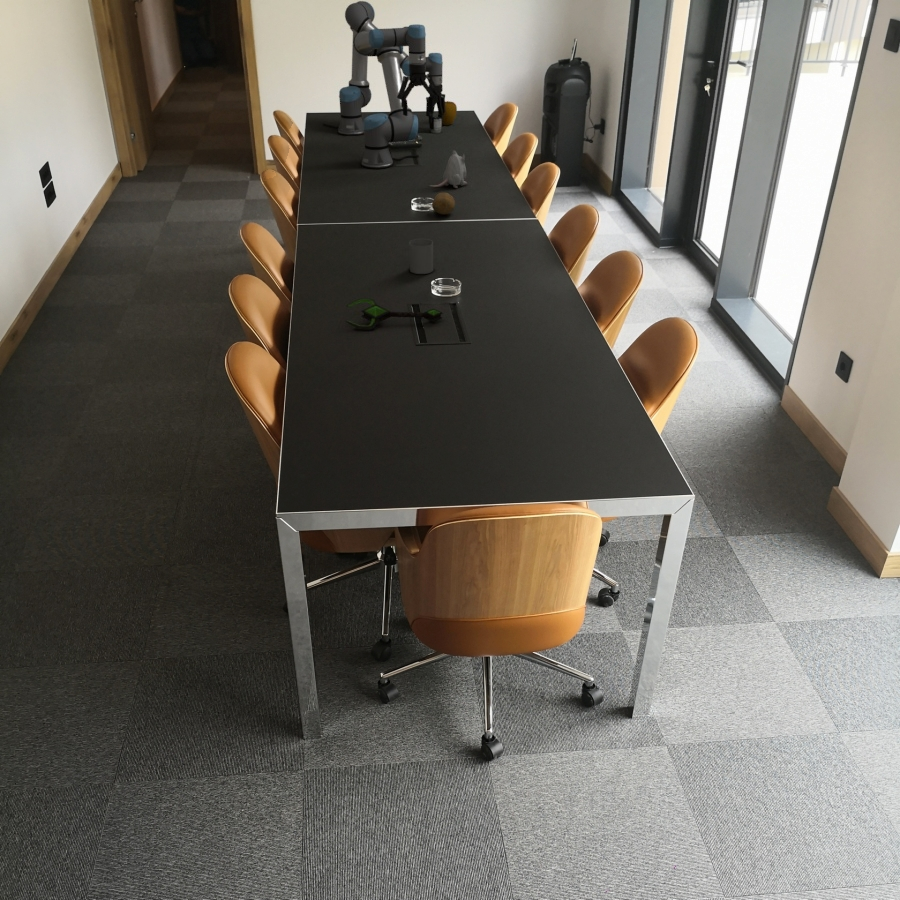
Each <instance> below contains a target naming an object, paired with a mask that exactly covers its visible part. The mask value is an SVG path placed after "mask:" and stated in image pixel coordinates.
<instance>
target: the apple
mask: <svg viewBox="0 0 900 900" xmlns="http://www.w3.org/2000/svg"><path fill="white" fill-rule="evenodd" d="M438 114H439V112H438V111H437V115H438ZM457 114H458V107H457V104H456V103H455V102H454V101H449V100H446V101H445V113H444V115H443V120H442V126H449V125H452V124H453V123H454V121H455V120H456V117H457Z"/></svg>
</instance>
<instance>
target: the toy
mask: <svg viewBox="0 0 900 900" xmlns="http://www.w3.org/2000/svg"><path fill="white" fill-rule="evenodd" d="M466 178H467V168H466V156H465V153H463V154H462V155H459V154H458V153H457V151H456V150H455V149H453V150H452V153H451V155H450V156H449V158H448V161H447V163H446V166H445V170H444V171H443V177H442V179H443V181H442V182H441V183H439V184H436V185H435V184H433V185H432V184H430V185H428V186H429V187H434V188H440V187H443V186H446V187H448V186H449V185H451V186H453V188H455V189H459V187H458V186H461V187H462V186H467V185H468V182H467V181H465V180H466Z"/></svg>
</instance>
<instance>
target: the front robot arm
mask: <svg viewBox="0 0 900 900" xmlns="http://www.w3.org/2000/svg"><path fill="white" fill-rule="evenodd" d="M426 36H427V34H426V27H425V25H424V24H419V23H418V24H409V25H408V26H402V27H392V28H378V29H372V30H365V31H362V32H359V33H357V34H356V35H355V37H354V39H353V38H352V44H353V46H354V48H355V50H356V51H357V52H358V53H359V54H361V55H364V56H368V57H376V59H377V62H378V63H379V64H381V69H382V73H383V78H384V83H385V88H386V94H387V98H388V104H389V108H390V111H389V113H388V114H387V113H383V112H381V113H373V114H370V115H368V116H365V118H364V119H363V123H364V127H363V129H364V134H363V138H364V139H363V140H364V151H363V155H362V159H361V166H362V167H363V168H366V169H371V170H381V169H387V168H390V167H392V166H394V161H401V160H403V159H406V158H419V157H420V155H419V154H413V155H412V154H411V155H410V154H409V155H404V156H401V157H398V158H397V157H392V155H391V152H390V151H391V150H390V147H389V145H390V144H389V143H396V142H398V143H399V142H408V141H414V140H415V139H416V138H417V136H418V133H419V119H418V116H417V114H415V113H413V110H412V109H411V108H409V106H408V100H407V98H408V96H409V95H410V93H411V92H412V90H413V89H414V88H415V87H423V88H424V90H425V91H426V92H427V93H428V95H429V96H431V97H429V96H428V97H429V112H432V113H433V104H434V103H435V97H436V95H438V91H437V89H436V87H435V84H434V82H433V80H432V74H429V72H426V65H425V64H424V63H425V62H426V57H427V55H426V53H427V52H426V49H427V48H426ZM404 47H408V56H409V63H410V64H409V74H410V75H409V77H408V76H405V75H403V76H402V69H401V68H400V64H399V59H400V58H401V54H402V53H403V51H404ZM426 73H427V74H426ZM426 80H427V82H426ZM408 82H409V83H408ZM429 84H430V86H431V89H432V90H431V89H430V88H429ZM432 91H433V92H432ZM433 114H434V113H433Z"/></svg>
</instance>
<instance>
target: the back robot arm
mask: <svg viewBox="0 0 900 900" xmlns="http://www.w3.org/2000/svg"><path fill="white" fill-rule="evenodd" d="M375 16H376V13H375V9H374V7H373V5H372V4H371V3H369V1H364V0H359V1H357V2H353V3H351V4H349V5H347V7H346V9H345V11H344V18H345V21H346V23H347V25H348V26H349V29H350V31H351V32H352V40H353V39H354V37H355V35H356V34H357V33H359V32H362V31H365V30H372V29H379V28H378V27H377V26H376V24H373V22H374V19H375ZM351 47H352V50H351V79H350V80H349V81H348V85H347V86H344V87H341V88H340V90H339V94H338V98H339V99H338V100H339V110H340V111H339V112H340V113H339V114H340V119H339V125H338V126H334V125H331V124H327V123H322V125H323V126H326V127H329V128H334V129H337V130H338V131H337V132H338V134H339V135H342V136H360V135H361V136H362V135H364V129H363V127H364V119H363V118H362V117H363V116H362V115H363V114H362V109H363V108H365V107H367V105H369V104H370V102H371V99H372V92H371V89H370V82H369V81H368V62H369V61H368V59H369V56H364V55H361V54H359V53H358V52H357V51H356V50H355V48H354V46H353V43H352V45H351ZM399 64H400V70H401V73H402V74H403V76H406V77H409V75H410V74H409V64H410V63H409V54H407V52H405V51H404V50H403V53H402V54H401V58H400V59H399ZM424 64H425V65H426V73H429V74H432V80H433V82H434V84H435V87H436V89H437V91H438V95H436V97H435V103H434V104H433V113H432V112H429V97H431V96H430V95H429V96H426V97H425V101H426V103H425V104H426V105H425V106H426V107H425V116H426V117H428V123H429V130H431V129H434V117H435V116H434V113H435V107H436V108H437V117H440V118H441V128H443V124H442V120H443V115H444V113H445V102H446V94H445V93H442V92H443V64H444V61H443V54H442V53H440V52H429V53H428V56H426V62H425V63H424ZM428 86H429V88H430V89H431V86H430V84H429V83H428ZM431 90H432V89H431ZM432 92H433V91H432ZM438 112H439V114H438Z"/></svg>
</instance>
